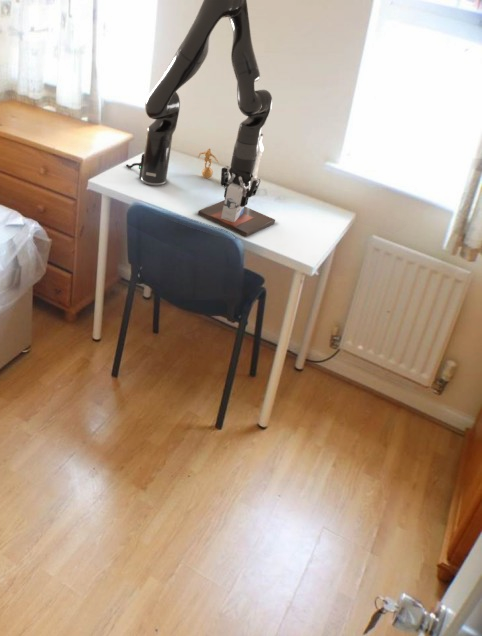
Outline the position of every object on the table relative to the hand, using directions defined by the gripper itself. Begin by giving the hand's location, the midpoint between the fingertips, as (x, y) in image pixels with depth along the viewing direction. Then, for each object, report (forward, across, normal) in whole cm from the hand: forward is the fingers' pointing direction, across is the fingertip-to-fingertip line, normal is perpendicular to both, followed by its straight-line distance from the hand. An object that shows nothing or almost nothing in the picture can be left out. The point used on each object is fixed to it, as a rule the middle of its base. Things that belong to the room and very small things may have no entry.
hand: (235, 202), depth 236 cm
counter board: (+7, 0, +2) cm, 7 cm away
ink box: (+5, 0, 0) cm, 5 cm away
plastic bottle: (+7, -14, +28) cm, 32 cm away
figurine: (+7, -28, +21) cm, 36 cm away
